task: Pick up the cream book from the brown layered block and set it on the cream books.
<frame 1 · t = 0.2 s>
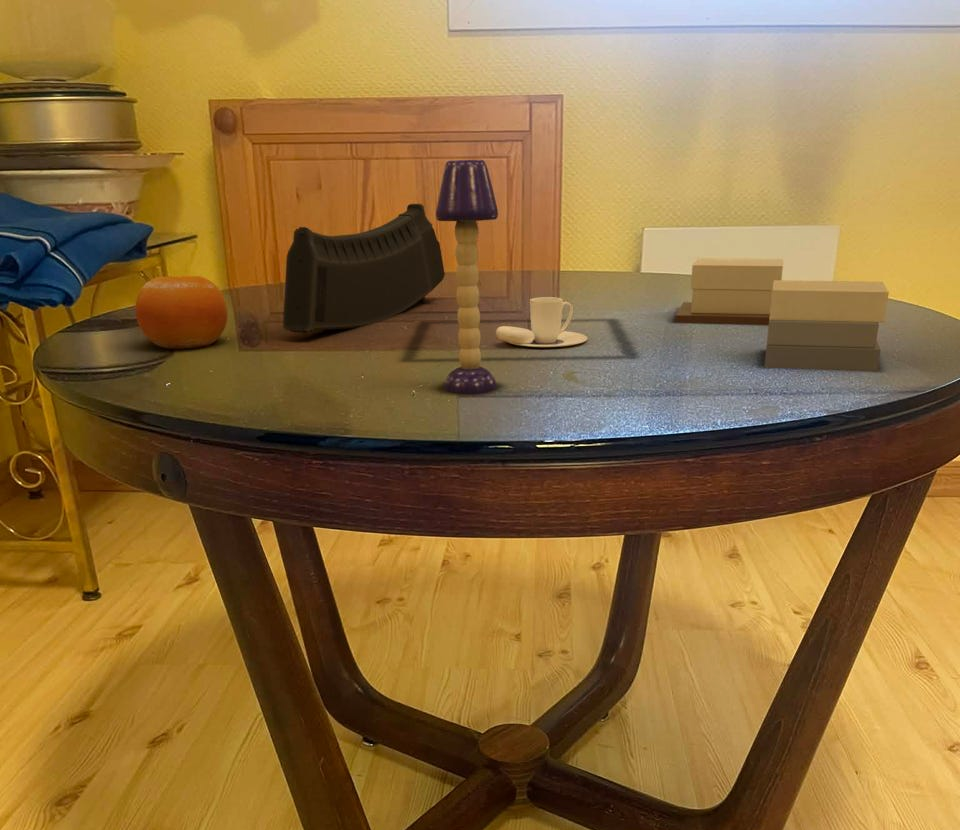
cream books: (735, 319, 108), on the table
teacup and saucer: (519, 343, 99), on the table
fruit: (187, 348, 100), on the table
toy lamp: (471, 392, 81), on the table
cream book: (824, 315, 85), point 4 cm above the table, touching brown layered block
magazine: (374, 321, 112), on the table
brown layered block: (818, 363, 87), on the table
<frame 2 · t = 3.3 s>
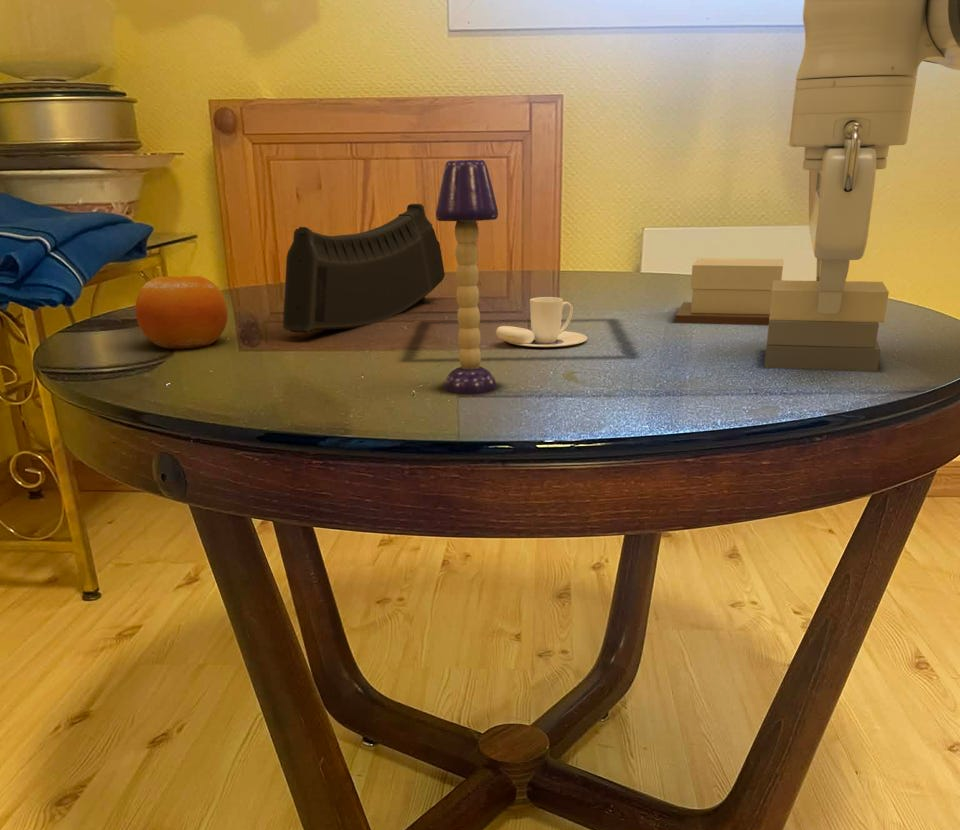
hand: (825, 306, 85), 5 cm above the table, tool pointing down, fingers closed on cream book, 6 cm apart
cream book: (824, 315, 85), point 4 cm above the table, touching brown layered block, gripper
everything else where it was.
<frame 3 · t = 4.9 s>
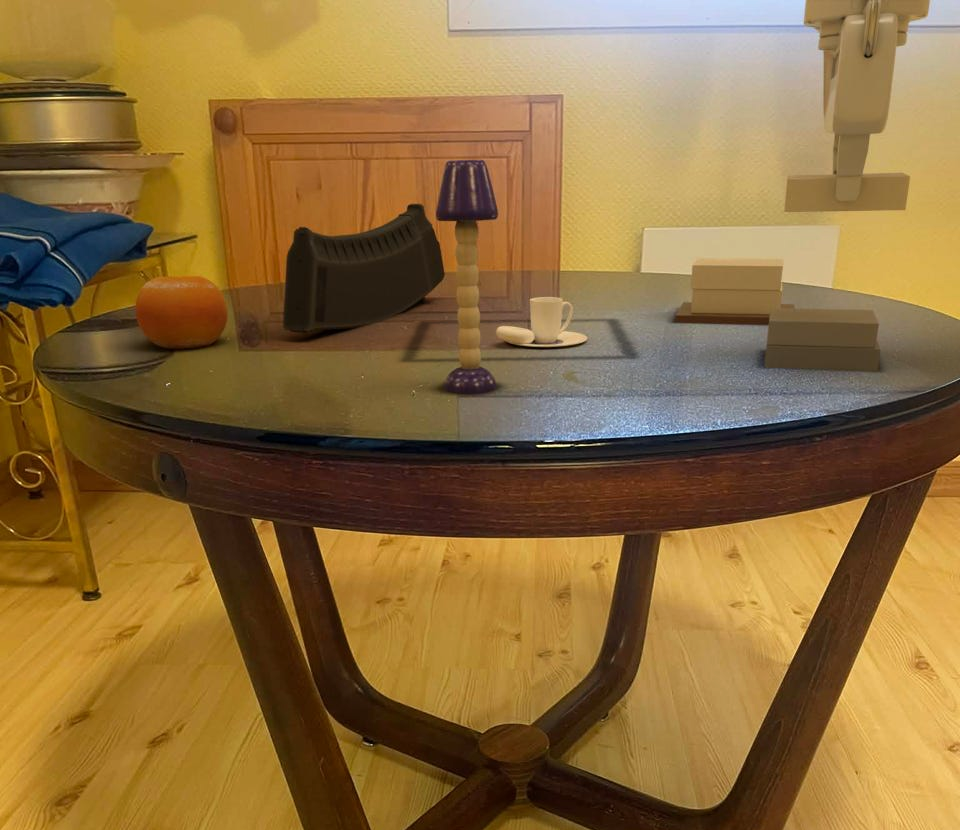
hand: (843, 197, 81), 13 cm above the table, tool pointing down, fingers closed on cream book, 6 cm apart
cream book: (842, 208, 82), point 12 cm above the table, touching gripper
everything else where it was.
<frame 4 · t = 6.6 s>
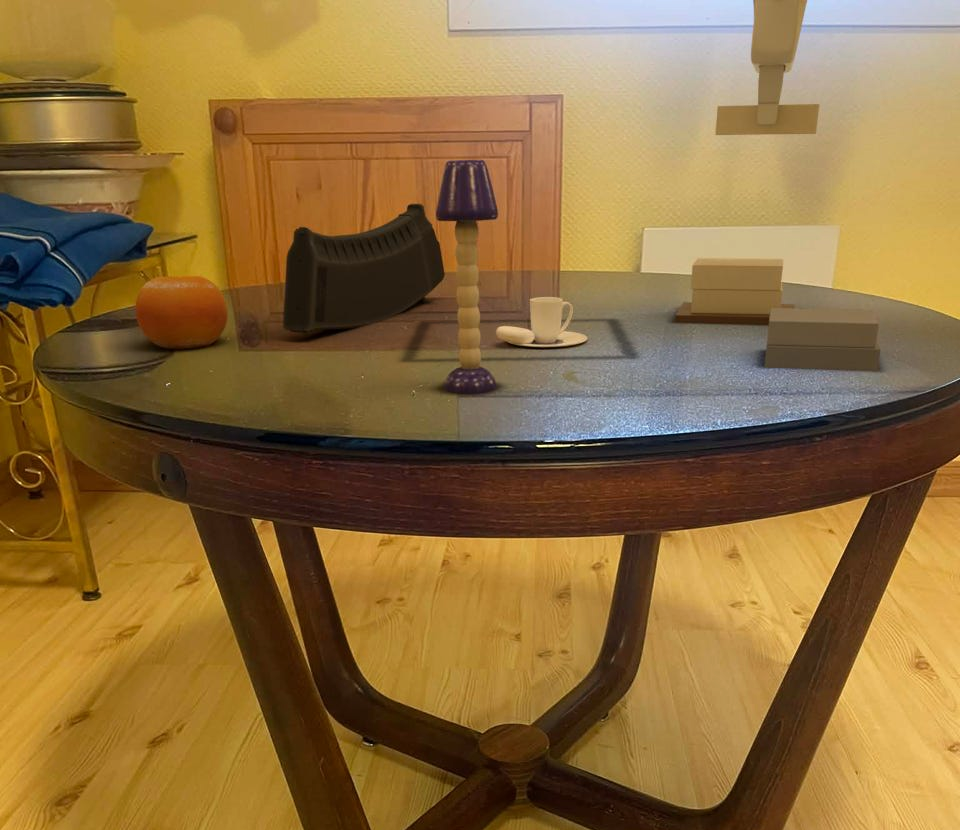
hand: (766, 125, 95), 18 cm above the table, tool pointing down, fingers closed on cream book, 6 cm apart
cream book: (765, 134, 96), point 18 cm above the table, touching gripper
everything else where it was.
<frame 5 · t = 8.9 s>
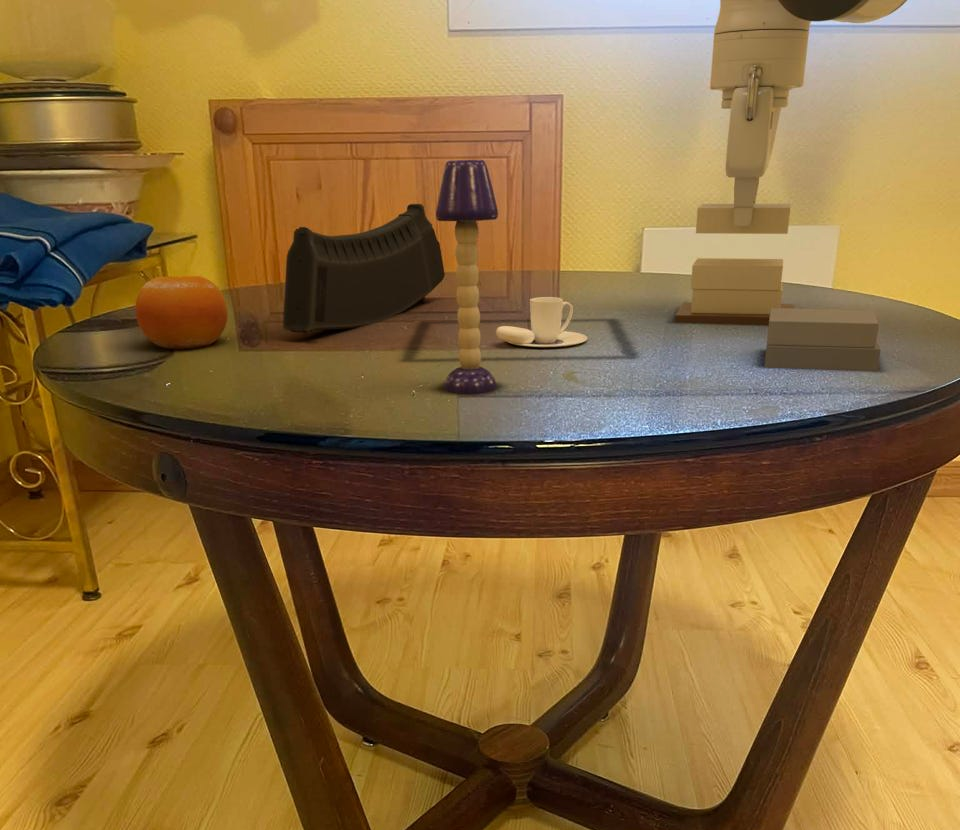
hand: (743, 223, 104), 10 cm above the table, tool pointing down, fingers closed on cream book, 6 cm apart
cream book: (742, 230, 104), point 9 cm above the table, touching gripper
everything else where it was.
when the fingers open (6 cm above the table, at t = 10.3 s): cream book stays where it is, resting on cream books.
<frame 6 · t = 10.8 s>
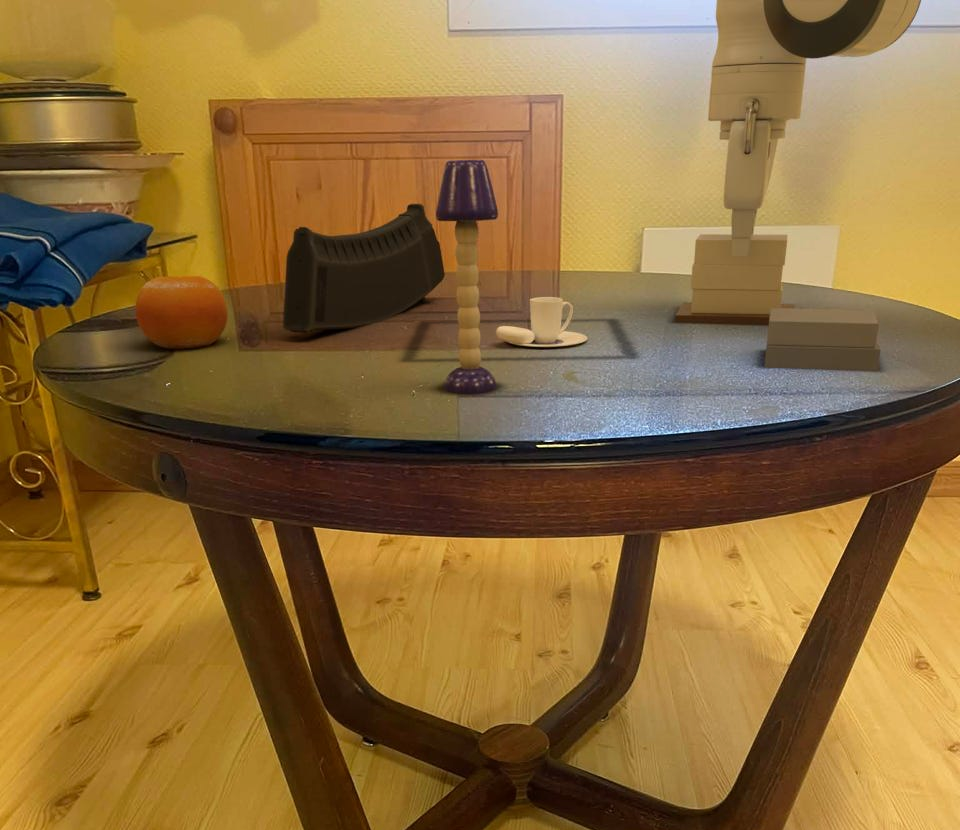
hand: (741, 251, 105), 7 cm above the table, tool pointing down, fingers open, 8 cm apart
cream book: (739, 261, 105), point 6 cm above the table, touching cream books
everything else where it was.
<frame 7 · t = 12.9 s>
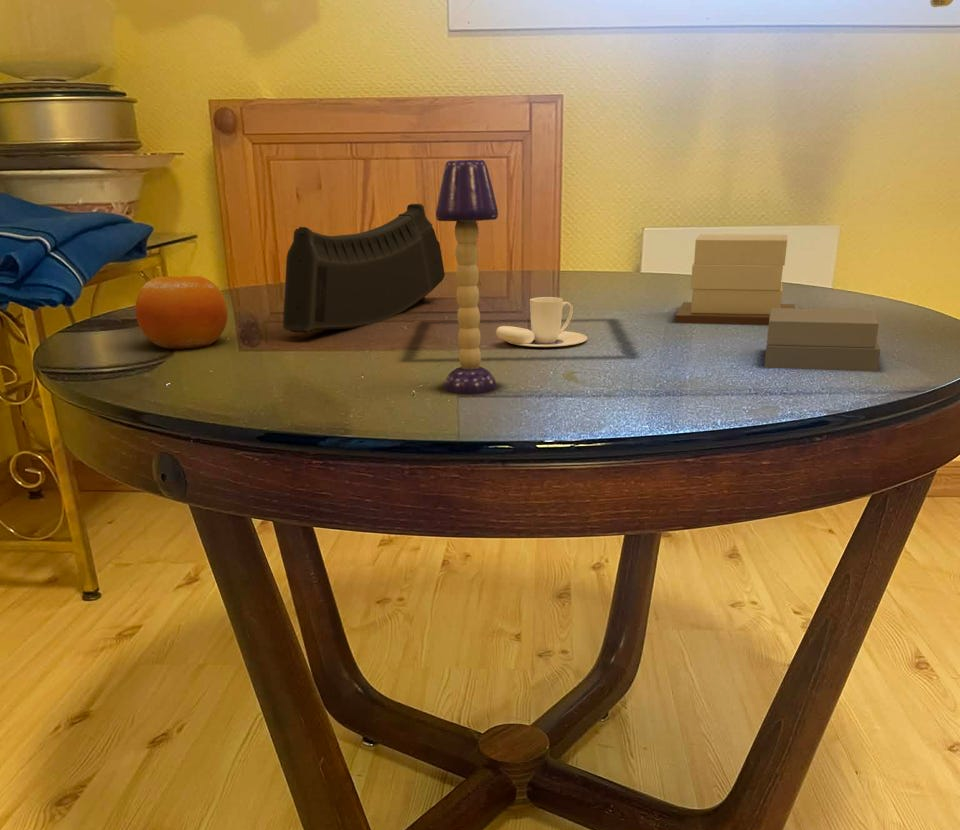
hand: (948, 0, 85), 28 cm above the table, tool pointing down, fingers open, 8 cm apart
nothing on the table moved.
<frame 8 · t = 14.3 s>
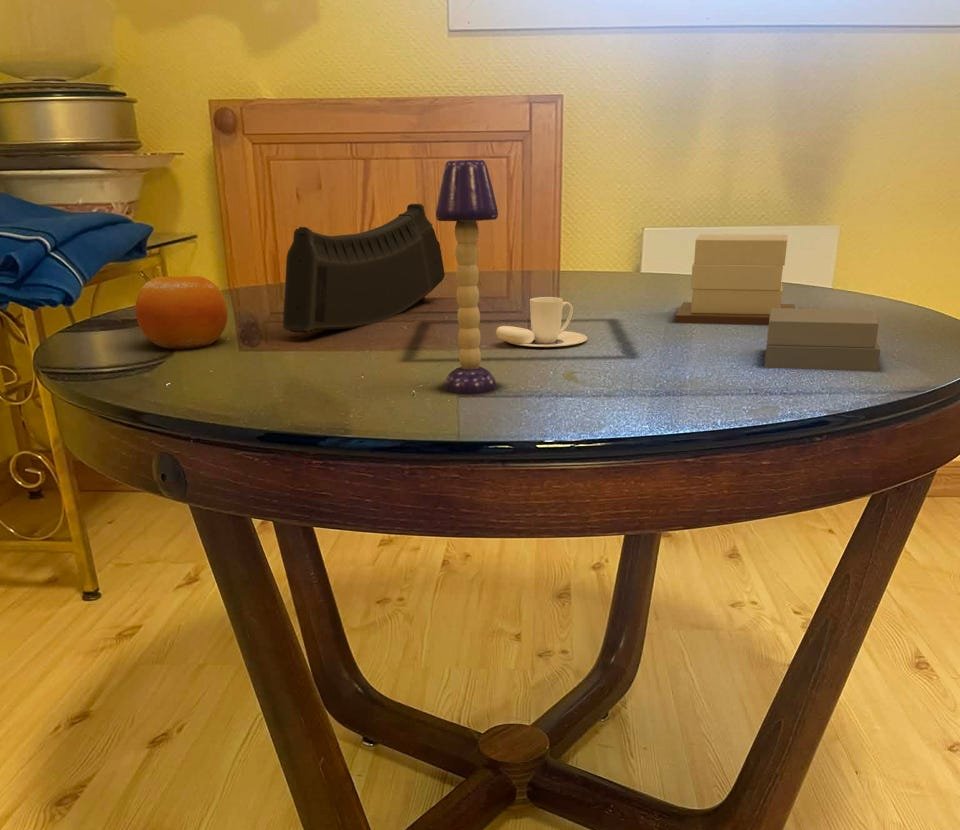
nothing on the table moved.
at the end: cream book 0.1 cm off-centre on the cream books, point 5.8 cm above the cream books's base; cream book tilted 0°; the gripper is holding nothing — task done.
